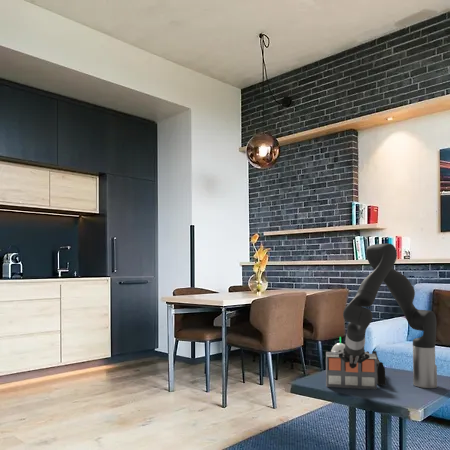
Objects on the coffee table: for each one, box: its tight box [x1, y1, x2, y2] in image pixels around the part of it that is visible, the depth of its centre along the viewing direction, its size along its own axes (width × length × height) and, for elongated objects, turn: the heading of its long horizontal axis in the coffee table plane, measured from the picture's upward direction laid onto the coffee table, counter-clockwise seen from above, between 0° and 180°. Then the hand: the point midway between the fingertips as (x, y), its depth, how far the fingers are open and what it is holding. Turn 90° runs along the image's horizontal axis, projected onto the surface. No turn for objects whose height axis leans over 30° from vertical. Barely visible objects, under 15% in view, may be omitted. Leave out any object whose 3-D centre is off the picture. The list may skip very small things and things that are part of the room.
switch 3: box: [361, 359, 374, 372], centre depth 211 cm, size 5×5×5 cm
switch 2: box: [345, 358, 358, 372], centre depth 211 cm, size 5×5×5 cm
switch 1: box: [328, 357, 341, 371], centre depth 214 cm, size 5×5×5 cm
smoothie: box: [330, 336, 345, 352], centre depth 223 cm, size 8×8×20 cm
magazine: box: [371, 350, 387, 386], centre depth 227 cm, size 17×3×30 cm
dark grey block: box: [325, 351, 378, 391], centre depth 214 cm, size 21×6×14 cm, turn 80°
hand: (352, 366), depth 206 cm, fingers closed
